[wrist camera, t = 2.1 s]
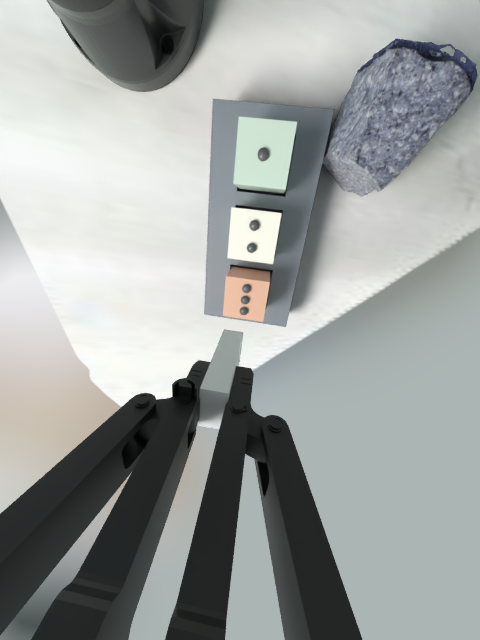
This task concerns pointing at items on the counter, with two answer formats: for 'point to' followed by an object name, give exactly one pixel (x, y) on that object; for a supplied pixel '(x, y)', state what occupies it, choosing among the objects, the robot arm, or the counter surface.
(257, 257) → the tile two
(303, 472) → the robot arm
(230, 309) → the tile three
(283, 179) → the tile one
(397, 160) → the stone
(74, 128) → the counter surface
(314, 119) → the key board
